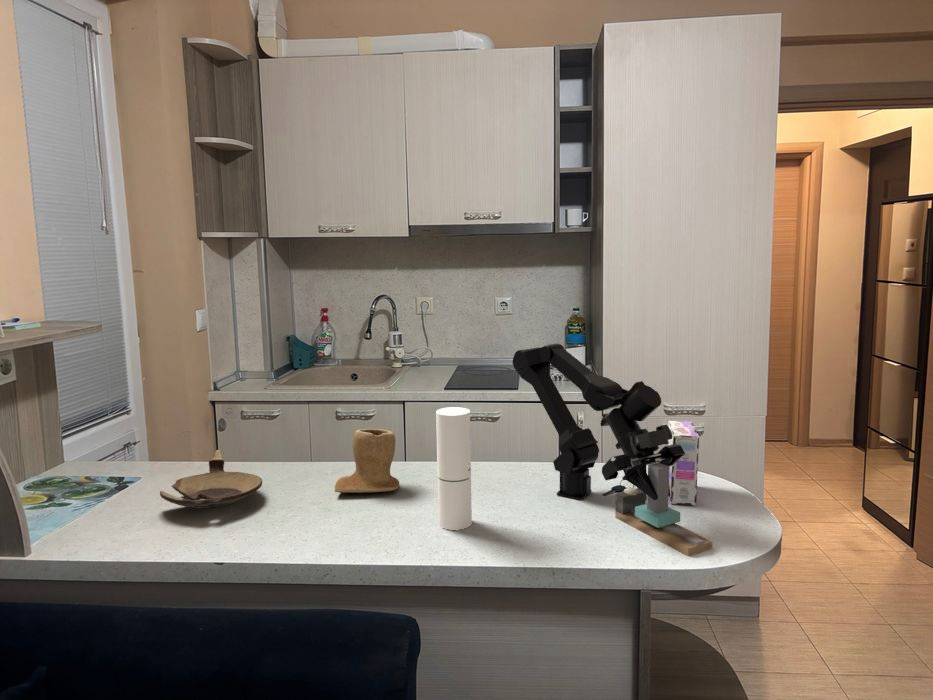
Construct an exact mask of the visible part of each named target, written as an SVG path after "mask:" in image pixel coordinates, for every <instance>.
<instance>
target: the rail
mask: <svg viewBox="0 0 933 700" xmlns="http://www.w3.org/2000/svg"><path fill="white" fill-rule="evenodd" d="M645 504H647V494H645V493H644V492H643V491H642V490H640V489H639V488H637V487H636V488H632V487H631V488H630V487H627V488H625V489H623V491H620V492H616V493H615V505H614V507H615V512H614V513H615V516H614V517H615V518H616V519H618V520H619V521H621V522H623V523H625V524H627V525H629V526H631V527H632V528H634V529H636V530H638V531H640V532H642V533H644V534H645V535H647V536H650V537H652V538H654V539H655V540H657V541H659V542H661V543H662V544H664V545H666V546H668V547H670V548H672V549H673V550H675V551H677V552H678V553H679V552H680V553H682V554H683V555H686V556H687V557H689V556H693V555H696V554H699V553H703V552H705V550H706V551H710V550H712V549H713V541H712V540H710V539H708V538H706V537H704V536H702V535H700V534H698V533H695V532H694V531H691V530H689V529H687V528H685V527H684V526H681V525H680V524H677V523H674V524H670V525H666V526H663V527H659V528H657V527H656V526H654V525H652V524H650V523H648V522H646V521H644V520H642V519H640V518H638V517H636V516H635V507H636V506H641V505H645ZM702 551H703V552H702ZM698 552H699V553H698ZM695 553H696V554H695ZM692 554H693V555H692Z"/></svg>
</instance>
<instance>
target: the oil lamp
mask: <svg viewBox="0 0 933 700" xmlns="http://www.w3.org/2000/svg"><path fill="white" fill-rule="evenodd" d="M224 466H225V460H224V458H223V452H222V451H221V450H220V449H217V450H215V452H214V456H213V457H212V459H209V461H208V467H209V468H208V469H209V470H208V471H209V472H206V473H200V474H196V475H189V476H185V477H181V478H179V479H177V480H176V481H175V483H174V484H172V485H171V488H172V489H174V490H175V491H176V492H178V493H179V494H180V495H182V496H183V497H185V498H183V497H180V496H179V497H178V496H175V495H172V494H170V493H168V492H165V491H163V490H160V492H159V495H160V497H161V498H162V499H164V501H167V502H169V503H172V504H175V505H178V506H180V507H181V506H182V507H187V508H193V509H195V508H196V509H207V508H208V509H210V508H211V509H212V508H219V507H224V506H228V505H231V504H233V503H236V502H238V501H240V500H242V499H244V498H246V497H248V496H249V495H252V494H254V493H255V492H256V491H258V490H260V488H262V486H263V479H262V478H261V477H260V476H259V475H257V474H253V473H247V472H241V471H225V470H224ZM199 497H202V498H203V499H200V498H199Z"/></svg>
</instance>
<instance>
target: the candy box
mask: <svg viewBox="0 0 933 700" xmlns="http://www.w3.org/2000/svg"><path fill="white" fill-rule="evenodd" d="M667 423H668V424H667V426H668V427H669V428H670V430H671V432H672V436H673V437H672V439H669V440H668V442H669V444H667V446H668V445H673V444H678V445H681V447H682V449H683V450H684V452H685V454H684V455H683V456H682V457H681V458H680V459H679V460H678V461H677V462H676V463H674V464H673V465H672V466H670V467H669V488H670V496H669V500H670V504H671V505H684V506H685V505H686V506H694V507H695V506H697V491H698V471H699V470H698V469H699V451H700V450H699V446H700V435H699V434H698V432H697V429H696V427H695V424H694V423H693V421H689V420H688V421H685V420H668V422H667Z"/></svg>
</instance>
